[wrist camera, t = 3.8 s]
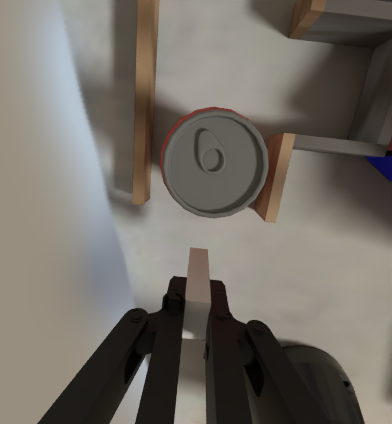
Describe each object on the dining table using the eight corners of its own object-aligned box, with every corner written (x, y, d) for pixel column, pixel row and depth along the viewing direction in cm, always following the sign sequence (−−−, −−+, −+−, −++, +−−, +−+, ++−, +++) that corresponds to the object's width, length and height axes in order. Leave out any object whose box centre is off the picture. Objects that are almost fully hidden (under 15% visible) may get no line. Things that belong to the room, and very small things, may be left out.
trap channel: (332, 219, 24) (365, 236, 19) (140, 197, 24) (125, 209, 19) (451, -164, 15) (564, -307, 11) (155, -203, 15) (134, -366, 10)
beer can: (228, 116, 21) (263, 75, 10) (245, 178, 23) (291, 207, 11) (168, 138, 22) (131, 124, 10) (188, 197, 24) (176, 241, 12)
